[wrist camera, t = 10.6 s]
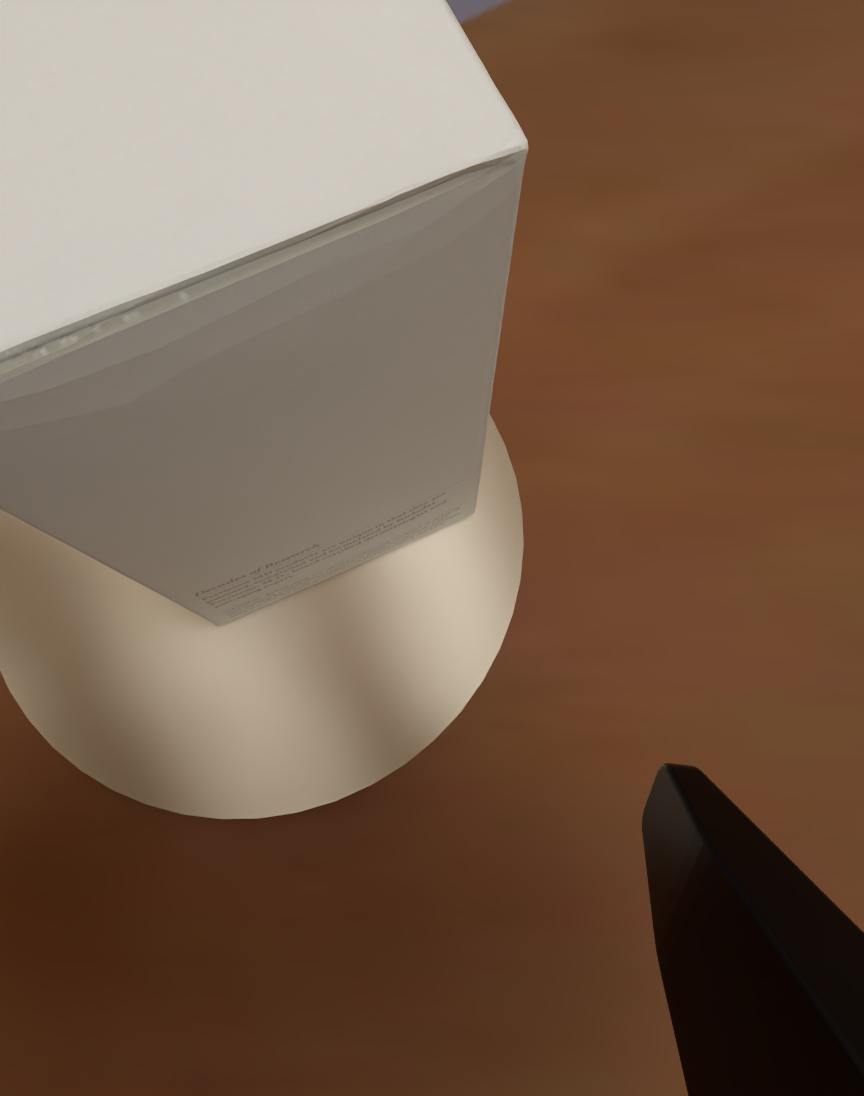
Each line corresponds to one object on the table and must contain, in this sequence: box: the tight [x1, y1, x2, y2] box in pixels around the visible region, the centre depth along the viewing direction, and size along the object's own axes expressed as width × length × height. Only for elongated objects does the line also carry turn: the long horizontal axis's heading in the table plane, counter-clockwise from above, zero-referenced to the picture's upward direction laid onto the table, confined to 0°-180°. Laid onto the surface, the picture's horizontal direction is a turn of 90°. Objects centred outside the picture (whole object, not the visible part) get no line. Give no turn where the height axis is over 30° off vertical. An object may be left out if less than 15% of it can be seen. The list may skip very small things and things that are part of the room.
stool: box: [0, 414, 524, 819], centre depth 22 cm, size 14×14×4 cm
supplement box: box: [0, 0, 528, 626], centre depth 14 cm, size 7×7×13 cm
